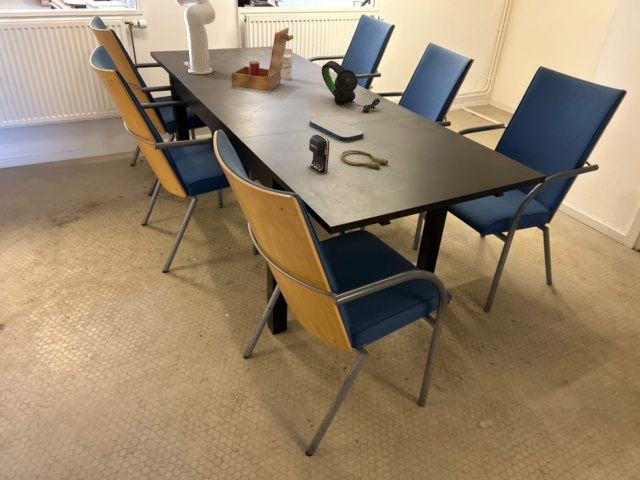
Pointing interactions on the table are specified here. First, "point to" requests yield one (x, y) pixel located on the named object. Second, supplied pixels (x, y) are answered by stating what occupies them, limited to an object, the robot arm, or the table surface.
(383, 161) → the extension cord
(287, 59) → the ink cartridge box
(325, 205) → the table surface
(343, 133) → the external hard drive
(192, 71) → the robot arm
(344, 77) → the headset
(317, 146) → the battery charger
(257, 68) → the tea tin
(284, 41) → the tea box lid
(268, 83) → the tea box
